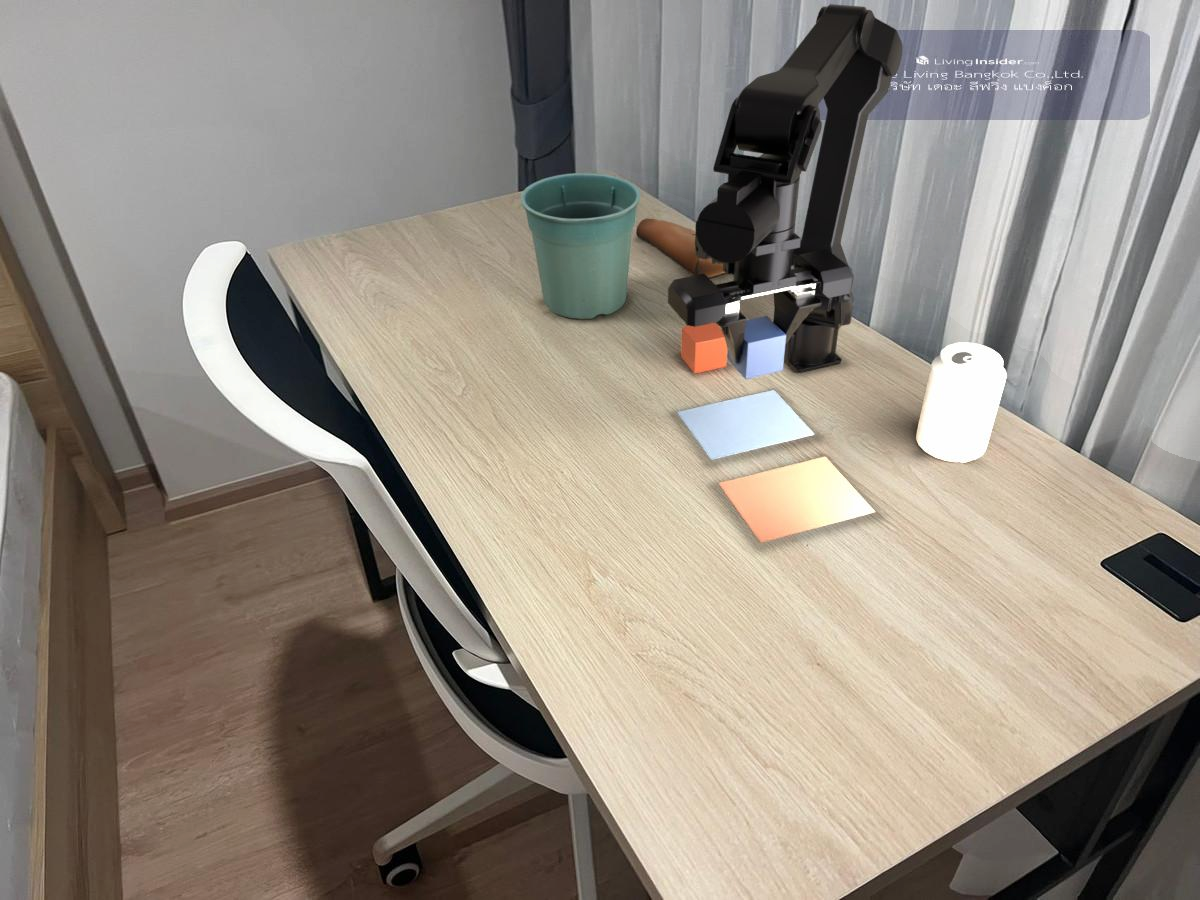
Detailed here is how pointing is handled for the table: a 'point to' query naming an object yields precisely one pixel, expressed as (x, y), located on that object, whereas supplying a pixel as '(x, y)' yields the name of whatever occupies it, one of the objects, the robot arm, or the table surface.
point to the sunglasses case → (677, 246)
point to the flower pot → (582, 240)
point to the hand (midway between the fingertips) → (755, 356)
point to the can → (961, 402)
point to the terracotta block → (703, 347)
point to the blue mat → (744, 424)
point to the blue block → (761, 349)
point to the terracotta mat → (794, 499)
